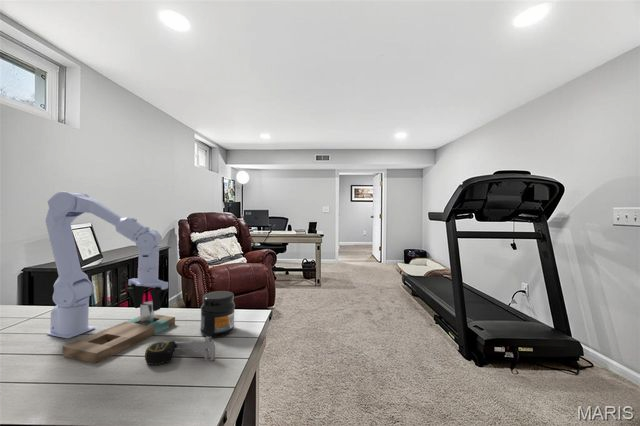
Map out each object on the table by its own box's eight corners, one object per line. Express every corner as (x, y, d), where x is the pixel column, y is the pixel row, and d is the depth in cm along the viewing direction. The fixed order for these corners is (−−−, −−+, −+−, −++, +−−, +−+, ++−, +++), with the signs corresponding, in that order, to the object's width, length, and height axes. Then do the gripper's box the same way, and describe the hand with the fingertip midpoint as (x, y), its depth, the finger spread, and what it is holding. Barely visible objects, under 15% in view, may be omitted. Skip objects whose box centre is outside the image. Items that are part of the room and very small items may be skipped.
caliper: (215, 360, 74) (216, 336, 74) (212, 362, 73) (213, 338, 73) (158, 345, 82) (159, 323, 82) (155, 347, 81) (155, 325, 81)
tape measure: (171, 365, 71) (172, 350, 71) (141, 369, 69) (141, 354, 69) (176, 352, 78) (177, 339, 78) (148, 355, 76) (149, 341, 76)
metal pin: (136, 329, 91) (137, 304, 91) (147, 324, 95) (147, 300, 95) (146, 330, 90) (147, 306, 90) (156, 326, 94) (157, 302, 94)
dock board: (62, 355, 74) (62, 346, 74) (147, 320, 99) (147, 312, 99) (96, 363, 71) (96, 353, 71) (174, 324, 96) (175, 317, 96)
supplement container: (239, 333, 91) (240, 296, 91) (205, 341, 84) (206, 302, 84) (228, 322, 99) (228, 288, 99) (196, 329, 93) (197, 293, 93)
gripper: (120, 268, 91) (118, 309, 91) (156, 271, 87) (154, 315, 87) (139, 264, 97) (138, 303, 97) (173, 267, 93) (172, 308, 93)
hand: (147, 308), depth 92 cm, fingers open, 7 cm apart
